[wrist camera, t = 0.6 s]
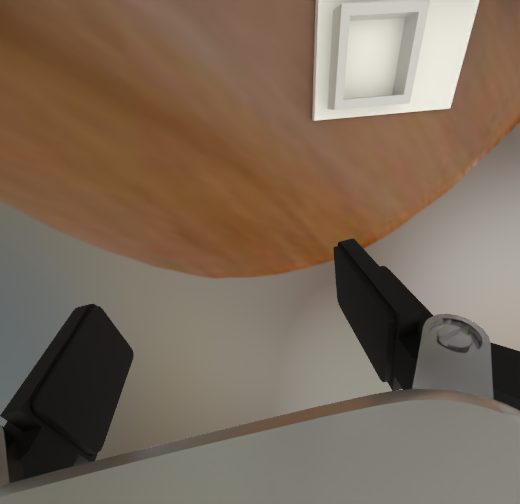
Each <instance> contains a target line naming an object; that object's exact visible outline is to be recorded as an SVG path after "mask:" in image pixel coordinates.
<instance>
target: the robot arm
mask: <svg viewBox="0 0 520 504" xmlns="http://www.w3.org/2000/svg"><path fill="white" fill-rule="evenodd" d="M334 261H335V273H336V287H337V298H338V303H339V306H340V307H341V309H342V311H343V313H344V315H345V317H346V318H347V320H348V322H349V324H350V326H351V327H352V329H353V331H354V333H355V335H356V336H357V338H358V340H359V342H360V344H361V345H362V347H363V349H364V351H365V353H366V354H367V356H368V358H369V360H370V362H371V363H372V365H373V367H374V369H375V371H376V372H377V374H378V376H379V378H380V379H381V381H382V382H388V383H389V385H390V387H391V389H392V391H391V392H386V393H379V394H374V395H368V396H364V397H359V398H354V399H350V400H345V401H341V402H337V403H332V404H328V405H323V406H318V407H314V408H310V409H305V410H301V411H297V412H293V413H289V414H285V415H280V416H276V417H273V418H268V419H264V420H260V421H255V422H251V423H248V424H243V425H239V426H235V427H230V428H226V429H223V430H218V431H214V432H210V433H206V434H202V435H198V436H194V437H190V438H185V439H181V440H178V441H174V442H169V443H165V444H161V445H157V446H153V447H149V448H145V449H141V450H137V451H133V452H129V453H125V454H121V455H117V456H113V457H109V458H105V459H101V460H97V461H95V459H96V456H97V453H98V452H99V451H100V450H101V449H102V447H103V444H104V441H105V438H106V436H107V432H108V430H109V427H110V424H111V421H112V418H113V415H114V412H115V409H116V407H117V404H118V401H119V398H120V395H121V392H122V389H123V386H124V383H125V380H126V377H127V374H128V372H129V368H130V366H131V363H132V360H133V350H132V349H131V347H130V346H129V344H128V343H127V342H126V340H125V339H124V338H123V336H122V335H121V334H120V332H119V331H118V330H117V328H116V327H115V326H114V324H113V323H112V321H111V320H110V319H109V317H108V316H107V315H106V313H105V312H104V311H103V309H102V308H101V307H99V306H96V305H94V304H89V305H85V306H81V307H78V308H76V309H75V310H74V311H73V312H72V314H71V315H70V317H69V318H68V320H67V321H66V322H65V324H64V325H63V326H62V328H61V329H60V331H59V332H58V334H57V335H56V337H55V338H54V339H53V341H52V342H51V344H50V345H49V347H48V348H47V349H46V351H45V352H44V354H43V355H42V357H41V358H40V360H39V361H38V362H37V364H36V365H35V367H34V368H33V370H32V371H31V372H30V374H29V375H28V377H27V378H26V379H25V381H24V382H23V384H22V385H21V387H20V388H19V390H18V391H17V392H16V394H15V395H14V397H13V398H12V400H11V401H10V403H9V404H8V405H7V407H6V408H5V410H4V411H3V412H2V414H1V415H0V416H1V417H3V418H4V419H6V420H7V421H8V422H7V423H6V425H5V426H4V427H3V426H1V425H0V504H520V351H517V350H513V349H510V348H507V347H503V346H500V345H497V344H493V343H490V340H489V337H488V335H487V334H486V332H485V331H484V330H483V329H482V328H481V327H479V326H478V325H477V324H476V323H474V322H472V321H470V320H468V319H466V318H463V317H460V316H456V315H450V314H440V315H435V316H433V315H432V314H431V313H430V312H429V311H428V310H427V309H426V308H425V306H424V305H423V304H422V303H421V302H420V301H419V300H418V299H417V298H416V297H415V296H414V295H413V294H412V293H411V292H410V291H409V290H408V289H407V288H406V287H405V286H404V285H403V284H402V282H401V281H400V280H399V279H398V278H397V277H396V276H395V275H394V274H393V273H392V272H391V271H390V270H389V269H388V268H387V267H385V266H381V267H379V265H378V264H376V262H375V261H374V260H373V259H372V258H371V257H370V256H369V255H368V254H367V252H366V251H365V250H364V249H363V248H362V247H361V246H360V245H359V244H358V243H357V241H356V240H355V239H349V240H345V241H341V242H338V246H336V247H334ZM399 389H403V390H399ZM395 390H397V391H395Z"/></svg>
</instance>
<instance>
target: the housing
mask: <svg viewBox="0 0 520 504" xmlns="http://www.w3.org/2000/svg"><path fill="white" fill-rule="evenodd" d="M478 4H479V0H316V7H315V40H314V73H313V106H312V120H314V121H315V120H327V119H338V118H349V117H360V116H371V115H383V114H394V113H405V112H416V111H427V110H439V109H450V108H451V104H452V100H453V96H454V93H455V89H456V85H457V82H458V78H459V74H460V70H461V67H462V63H463V59H464V56H465V52H466V48H467V45H468V41H469V37H470V33H471V30H472V26H473V22H474V19H475V15H476V11H477V8H478Z"/></svg>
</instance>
